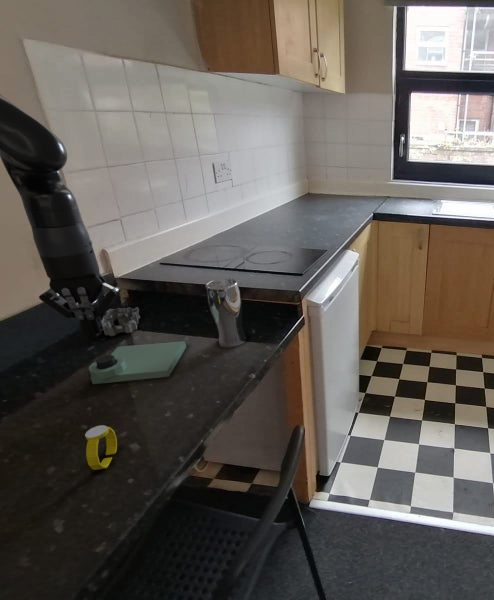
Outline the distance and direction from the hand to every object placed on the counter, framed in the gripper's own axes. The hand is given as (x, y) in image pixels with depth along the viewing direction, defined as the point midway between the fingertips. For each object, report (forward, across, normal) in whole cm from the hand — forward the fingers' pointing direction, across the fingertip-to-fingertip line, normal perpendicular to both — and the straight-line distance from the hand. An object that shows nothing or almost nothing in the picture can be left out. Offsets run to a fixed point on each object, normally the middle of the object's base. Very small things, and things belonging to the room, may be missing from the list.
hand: (95, 334), depth 78 cm
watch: (+10, +10, -24) cm, 28 cm away
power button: (+7, 0, 0) cm, 7 cm away
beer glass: (+10, +22, +10) cm, 26 cm away
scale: (+10, +5, +4) cm, 12 cm away
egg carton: (+10, -7, +24) cm, 27 cm away
